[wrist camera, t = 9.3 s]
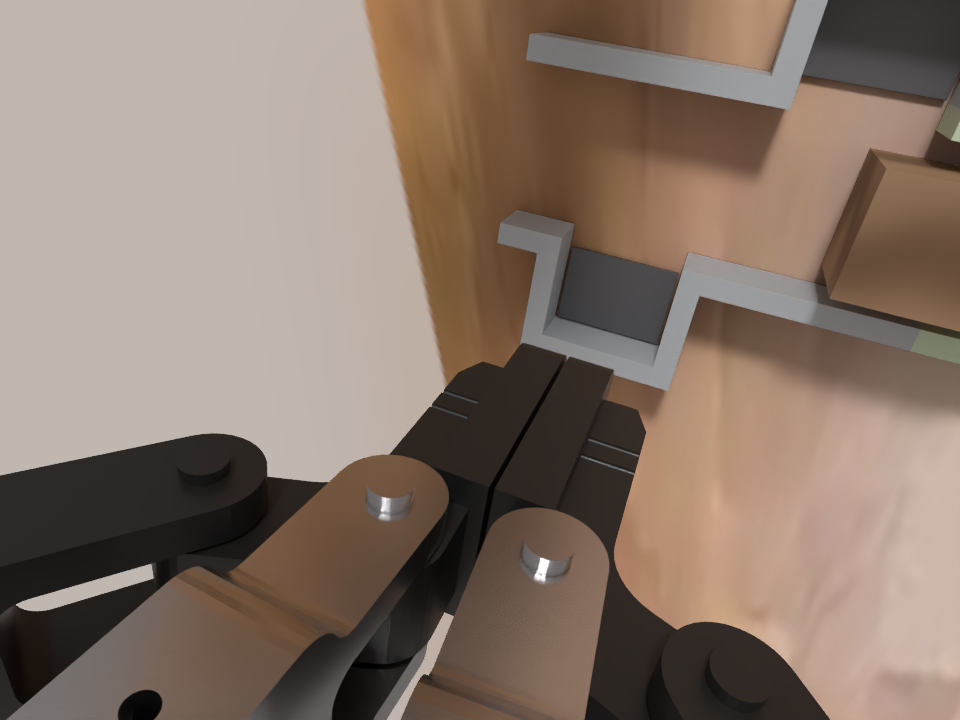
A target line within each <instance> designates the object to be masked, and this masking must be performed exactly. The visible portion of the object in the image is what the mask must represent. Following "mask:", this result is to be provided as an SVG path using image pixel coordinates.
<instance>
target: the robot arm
mask: <svg viewBox="0 0 960 720" xmlns="http://www.w3.org/2000/svg"><path fill="white" fill-rule="evenodd" d="M613 374H614V370H613V369H610V368H607V367H603V366H600V365H597V364H593V363H590V362H587V361H584V360H580V359H577V358H574V357H569V358H568V359H567V356H566V355H563V354H560V353H556V352H553V351H550V350H547V349H543V348H540V347H537V346H533V345H530V344H527V343H522V344H521V345H520V346H519V347H518V349H517V350H516V351H515V353H514V354H513V356H512V357H511V358H510V360H509V361H508V362H507V364H506V365H505V367H504V368H502V367H499V366H495V365H492V364H489V363H486V362H481V363H478V364H476V365H474V366H472V367H470V368H467V369H465V370H463V371H461V372H458V374H457V375H456V376H455V377H454V378H453V380H452V381H451V382H450V383H449V384H448V386H447V387H446V388H445V389H444V392H443V393H441V394H440V395H439V396H438V398H437V399H436V400H435V401H434V402H433V404H432V407H429V408H428V409H427V411H426V412H425V413H424V414H423V415H422V416H421V418H420V419H419V420H418V421H417V422H416V424H415V425H414V426H413V427H412V428H411V430H410V431H409V432H408V433H407V434H406V436H405V437H404V438H403V439H402V440H401V441H400V443H399V444H398V445H397V446H396V447H395V449H394V450H393V451H392V452H391V453H390V455H378V456H371V457H367V458H363V459H360V460H358V461H355V462H353V463H352V464H350V465H348V466H347V467H345V468H344V469H343V470H342V471H340V473H338V474H337V475H336V476H335V477H334V478H333V479H332V480H331V481H330V482H323V483H322V482H309V481H300V480H291V479H282V478H273V477H267V461H266V458H265V456H264V454H263V452H262V451H261V450H260V449H259V448H258V447H257V446H256V445H254V444H253V443H251V442H250V441H248V440H245V439H243V438H240V437H237V436H233V435H227V434H200V435H194V436H189V437H185V438H180V439H174V440H170V441H165V442H160V443H155V444H150V445H146V446H141V447H136V448H131V449H126V450H121V451H117V452H112V453H107V454H102V455H97V456H92V457H88V458H83V459H78V460H74V461H68V462H63V463H59V464H54V465H49V466H44V467H39V468H35V469H30V470H25V471H20V472H15V473H11V474H6V475H1V476H0V720H387V718H388V716H389V715H390V713H391V712H392V710H393V708H394V707H395V705H396V704H397V702H398V701H399V699H400V697H401V696H402V694H403V693H404V691H405V689H406V688H407V686H408V685H409V683H410V681H411V680H412V678H413V677H414V675H415V673H416V672H417V670H418V669H419V667H420V665H421V664H422V662H423V660H424V657H425V653H426V649H427V643H428V641H429V640H430V638H431V636H432V635H433V633H434V631H435V629H436V627H437V625H438V623H439V621H440V619H441V617H442V616H443V614H444V612H446V613H448V614H450V615H453V616H454V618H453V620H452V623H451V625H450V628H449V630H448V633H447V635H446V638H445V640H444V643H443V645H442V648H441V650H440V653H439V655H438V658H437V660H436V662H435V665H434V667H433V669H432V671H431V673H430V674H429V676H428V675H426V674H424V675H423V676H422V677H421V678H420V680H419V681H418V683H417V685H416V687H415V688H414V691H413V693H412V695H411V697H410V699H409V702H408V704H407V706H406V708H405V711H404V713H403V716H402V718H401V720H830V719H829V718H828V716H827V715H826V714H825V712H824V711H823V710H822V708H821V707H820V705H819V704H818V703H817V701H816V700H815V699H814V697H813V696H812V695H811V693H810V692H809V691H808V689H807V688H806V687H805V685H804V684H803V683H802V681H801V680H800V679H799V677H798V676H797V675H796V673H795V672H794V671H793V670H792V668H791V667H790V666H789V665H788V664H787V662H786V661H785V660H784V659H783V658H782V657H781V656H780V655H779V654H778V653H777V652H776V651H775V650H773V649H772V648H771V647H769V646H768V645H767V644H765V643H764V642H763V641H761V640H760V639H758V638H756V637H755V636H753V635H751V634H749V633H747V632H745V631H743V630H741V629H738V628H735V627H732V626H729V625H726V624H721V623H715V622H699V623H693V624H689V625H686V626H684V627H682V628H680V629H678V630H676V629H675V628H673V627H672V626H671V625H669V624H668V623H666V622H665V621H663V620H662V619H661V618H659V617H658V616H656V615H655V614H653V613H652V612H651V611H649V610H648V609H647V608H646V607H644V606H643V605H642V604H641V603H640V602H639V601H638V600H637V599H636V598H635V597H634V596H633V595H632V594H631V593H630V591H629V590H628V589H627V588H626V586H625V585H624V583H623V581H622V580H621V578H620V576H619V574H618V571H617V569H616V565H615V561H614V547H615V542H616V538H617V535H618V531H619V527H620V524H621V520H622V517H623V513H624V510H625V506H626V502H627V499H628V495H629V492H630V488H631V485H632V481H633V478H634V474H635V470H636V467H637V463H638V460H639V456H640V453H641V449H642V445H643V442H644V438H645V435H646V431H645V428H644V425H643V423H642V420H641V418H640V415H639V412H638V410H636V409H633V408H630V407H627V406H623V405H620V404H617V403H614V402H611V401H607V396H608V393H609V389H610V386H611V382H612V378H613ZM148 564H152V570H153V576H154V579H151V580H148V581H144V582H141V583H138V584H135V585H131V586H128V587H124V588H121V589H118V590H115V591H111V592H108V593H104V594H101V595H98V596H94V597H91V598H88V599H84V600H81V601H78V602H75V603H71V604H68V605H64V606H61V607H58V608H54V609H51V610H46V611H27V610H24V609H21V608H19V607H18V606H16V605H15V604H17V603H20V602H22V601H24V600H27V599H30V598H34V597H37V596H40V595H44V594H48V593H51V592H55V591H58V590H61V589H65V588H69V587H72V586H75V585H79V584H82V583H86V582H89V581H93V580H96V579H99V578H103V577H106V576H110V575H113V574H117V573H120V572H124V571H127V570H131V569H134V568H137V567H141V566H145V565H148Z"/></svg>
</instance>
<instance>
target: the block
mask: <svg viewBox="0 0 960 720" xmlns="http://www.w3.org/2000/svg"><path fill="white" fill-rule="evenodd" d="M822 268H823V273H824V277H825V281H826V286H827V290H828V295H829V299H833V300H837V301H841V302H845V303H849V304H853V305H857V306H861V307H865V308H869V309H872V310H876V311H880V312H884V313H888V314H892V315H896V316H900V317H904V318H908V319H912V320H916V321H920V322H924V323H927V324H931V325H935V326H939V327H943V328H947V329H951V330H955V331H959V332H960V166H957V165H951V164H946V163H941V162H936V161H931V160H926V159H921V158H916V157H911V156H906V155H901V154H896V153H891V152H886V151H881V150H876V149H871V148H870V150H869V152H868V155H867V157H866V159H865V162H864V164H863V167H862V169H861V171H860V174H859V176H858V178H857V181H856V183H855V186H854V188H853V190H852V193H851V195H850V197H849V200H848V202H847V205H846V207H845V209H844V212H843V214H842V216H841V219H840V221H839V224H838V226H837V228H836V231H835V233H834V235H833V238H832V240H831V243H830V245H829V247H828V250H827V252H826V254H825V257H824V259H823V262H822Z"/></svg>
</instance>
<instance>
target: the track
mask: <svg viewBox="0 0 960 720" xmlns="http://www.w3.org/2000/svg"><path fill="white" fill-rule="evenodd" d="M526 60H528V61H533V62H538V63H544V64H549V65H554V66H560V67H565V68H570V69H575V70H581V71H586V72H591V73H597V74H602V75H607V76H613V77H618V78H623V79H628V80H634V81H639V82H644V83H650V84H655V85H660V86H666V87H671V88H676V89H681V90H687V91H692V92H697V93H703V94H708V95H713V96H718V97H724V98H729V99H734V100H740V101H745V102H750V103H756V104H761V105H766V106H771V107H777V108H782V109H787V110H790V108H791V105H792V102H793V99H794V96H795V93H796V91H797V88H798V85H799V82H800V79H801V76H802V75H806V76H812V77H818V78H823V79H829V80H835V81H840V82H846V83H852V84H857V85H863V86H869V87H875V88H880V89H886V90H892V91H897V92H903V93H909V94H914V95H920V96H926V97H931V98H937V99H943V100H947V98H948V96H949V94H950V92H951V90H952V87H953V85H954V83H955V81H956V79H957V77H958V74H959V72H960V0H794V3H793V6H792V9H791V12H790V16H789V19H788V22H787V25H786V28H785V31H784V34H783V37H782V40H781V43H780V46H779V49H778V52H777V55H776V58H775V61H774V64H773V67H772V71H771V72H769V71H764V70H758V69H752V68H747V67H741V66H735V65H730V64H724V63H718V62H713V61H707V60H701V59H696V58H690V57H684V56H679V55H673V54H667V53H662V52H656V51H650V50H645V49H639V48H633V47H628V46H622V45H616V44H611V43H605V42H599V41H594V40H588V39H582V38H577V37H571V36H565V35H560V34H554V33H548V32H543V33H530V36H529V42H528V48H527V55H526ZM936 131H938V132H939V133H941V134H942V135H944V136H945V137H947V138H948V139H950V140H952V141H957V142H960V79H959V82H958V84H957V86H956V88H955V90H954V92H953V95H952V97H951V99H950V101H949V103H948V105H947V108H946V110H945V112H944V114H943V116H942V118H941V121H940V123H939V125H938V127H937V129H936ZM574 226H575V224H573V223H569V222H565V221H561V220H557V219H553V218H549V217H545V216H541V215H537V214H533V213H529V212H525V211H521V210H516V211H514V212H513V213H512V214H511V215H509V216H508V217H507V218H506V219H504V220H503V221H502V222H500V228H499V234H498V241H497V243H500V244H504V245H507V246H511V247H515V248H519V249H523V250H526V251H530V252H534V253H537V257H536V263H535V268H534V273H533V279H532V284H531V289H530V294H529V300H528V305H527V310H526V316H525V321H524V326H523V331H522V337H521V342H520V345H521V344H522V343H527V344H530V345H533V346H537V347H540V348H543V349H547V350H550V351H553V352H556V353H560V354H563V355H566V356H567V359H568V358H569V357H574V358H577V359H580V360H584V361H587V362H590V363H593V364H597V365H600V366H603V367H607V368H610V369H613V370H614V374H613V375H616V376H619V377H623V378H626V379H629V380H633V381H636V382H639V383H643V384H646V385H649V386H653V387H656V388H659V389H662V390H666V391H668V390H669V387H670V384H671V381H672V378H673V375H674V372H675V369H676V366H677V363H678V360H679V357H680V353H681V350H682V347H683V344H684V341H685V338H686V335H687V332H688V329H689V326H690V323H691V320H692V317H693V314H694V311H695V308H696V305H697V302H698V299H699V296H701V297H705V298H709V299H713V300H717V301H720V302H724V303H728V304H732V305H736V306H739V307H743V308H747V309H751V310H755V311H758V312H762V313H766V314H770V315H774V316H777V317H781V318H785V319H789V320H793V321H796V322H800V323H804V324H808V325H812V326H815V327H819V328H823V329H827V330H831V331H834V332H838V333H842V334H846V335H850V336H854V337H857V338H861V339H865V340H869V341H873V342H876V343H880V344H884V345H888V346H892V347H895V348H899V349H903V350H907V351H911V352H914V353H918V354H922V355H926V356H930V357H933V358H937V359H941V360H945V361H949V362H952V363H956V364H960V332H959V331H955V330H951V329H947V328H943V327H939V326H935V325H931V324H927V323H924V322H920V321H916V320H912V319H908V318H904V317H900V316H896V315H892V314H888V313H884V312H880V311H876V310H872V309H869V308H865V307H861V306H857V305H853V304H849V303H845V302H841V301H837V300H833V299H829V295H828V290H827V286H823V285H819V284H815V283H811V282H807V281H803V280H799V279H795V278H791V277H787V276H783V275H779V274H775V273H771V272H767V271H763V270H759V269H755V268H751V267H747V266H743V265H738V264H734V263H730V262H726V261H722V260H718V259H714V258H710V257H706V256H702V255H698V254H694V253H690V252H688V255H687V258H686V262H685V265H684V268H683V271H682V274H681V277H680V281H679V284H678V287H677V290H676V294H675V297H674V300H673V303H672V307H671V310H670V313H669V316H668V320H667V323H666V326H665V329H664V333H663V336H662V339H661V342H660V345H657V342H658V339H659V336H660V332H661V329H662V326H663V323H664V319H665V316H666V313H667V310H668V306H669V303H670V300H671V297H672V293H673V290H674V287H675V283H676V280H677V277H678V274H679V273H676V272H672V271H669V270H665V269H661V268H657V267H653V266H649V265H645V264H641V263H637V262H633V261H630V260H626V259H622V258H618V257H614V256H610V255H606V254H602V253H598V252H594V251H591V250H587V249H583V248H579V247H575V246H573V247H572V251H571V256H570V261H569V265H568V270H567V274H566V279H565V284H564V288H563V293H562V298H561V302H560V307H559V311H558V316H559V317H558V316H555V315H556V310H557V306H558V301H559V296H560V292H561V287H562V282H563V278H564V273H565V268H566V264H567V259H568V254H569V250H570V245H571V240H572V236H573V231H574ZM565 318H566V319H565ZM572 320H573V321H572ZM579 322H580V323H579ZM586 324H587V325H586ZM593 326H594V327H593ZM600 328H601V329H600ZM607 330H608V331H607ZM614 332H615V333H614ZM621 334H622V335H621Z"/></svg>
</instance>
